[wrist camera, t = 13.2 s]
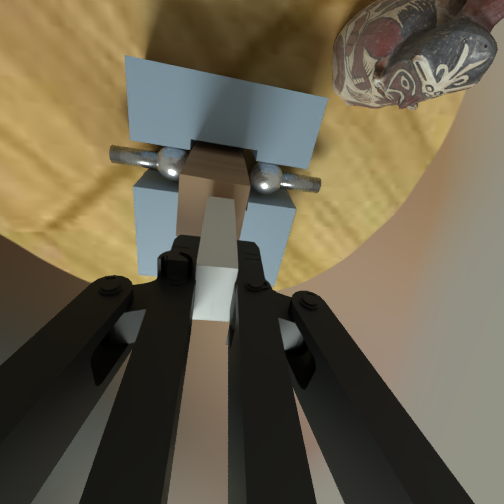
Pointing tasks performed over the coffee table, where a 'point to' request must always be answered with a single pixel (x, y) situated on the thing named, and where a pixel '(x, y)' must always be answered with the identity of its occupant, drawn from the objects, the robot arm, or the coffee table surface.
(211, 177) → the peg
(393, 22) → the figurine
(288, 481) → the robot arm
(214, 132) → the socket board
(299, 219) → the coffee table surface
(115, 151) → the plunger
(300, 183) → the plunger
